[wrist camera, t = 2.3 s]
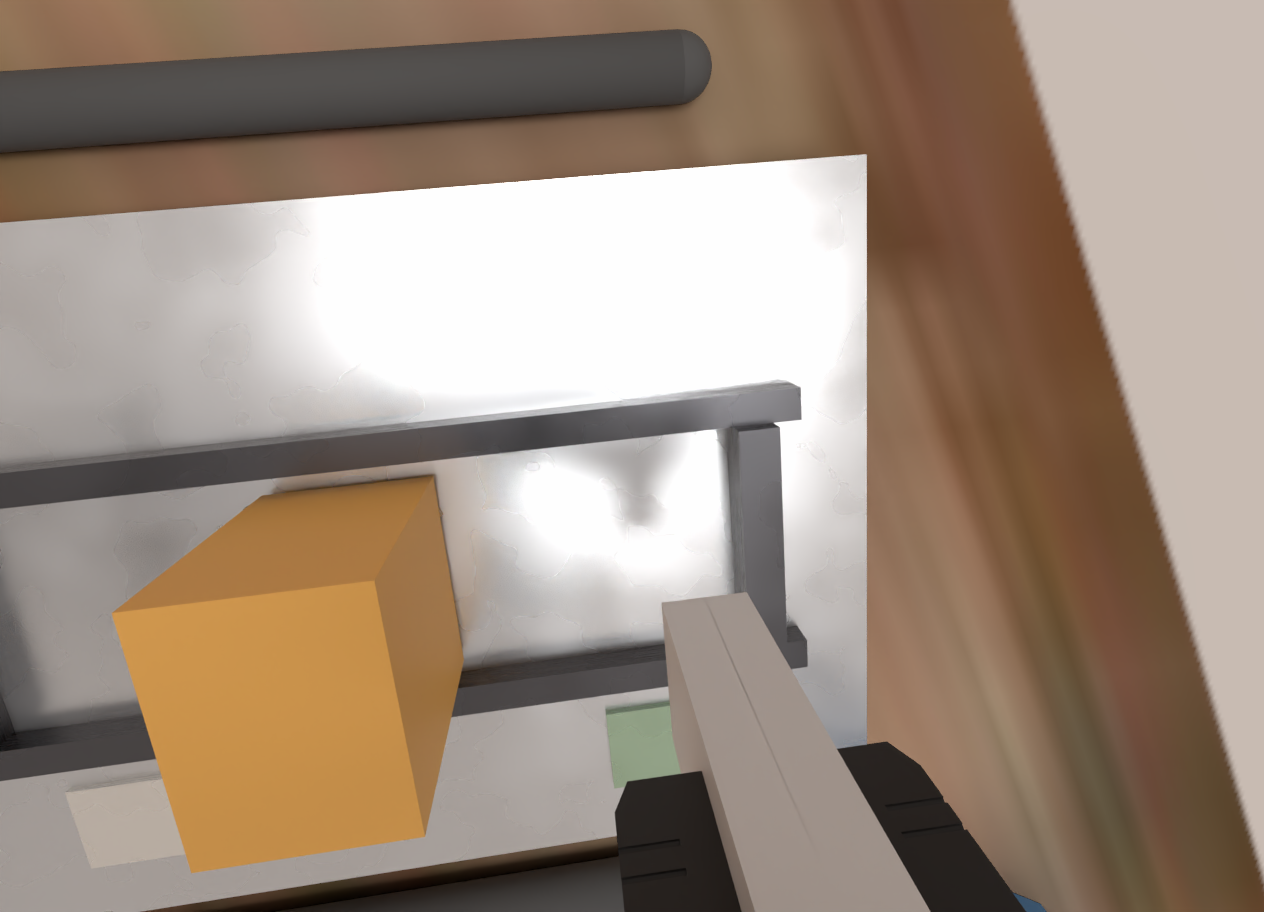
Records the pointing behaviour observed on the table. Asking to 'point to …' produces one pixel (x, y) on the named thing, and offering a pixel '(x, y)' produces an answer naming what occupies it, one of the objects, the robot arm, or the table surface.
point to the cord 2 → (505, 893)
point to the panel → (458, 461)
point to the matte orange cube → (301, 673)
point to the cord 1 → (347, 88)
